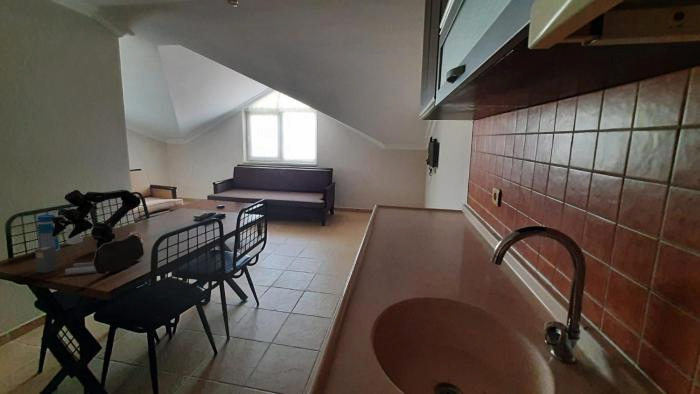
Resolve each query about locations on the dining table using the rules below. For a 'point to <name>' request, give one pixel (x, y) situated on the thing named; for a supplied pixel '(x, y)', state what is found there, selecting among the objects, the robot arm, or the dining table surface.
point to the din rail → (81, 269)
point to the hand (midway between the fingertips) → (60, 237)
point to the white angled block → (74, 239)
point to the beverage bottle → (47, 232)
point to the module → (46, 259)
